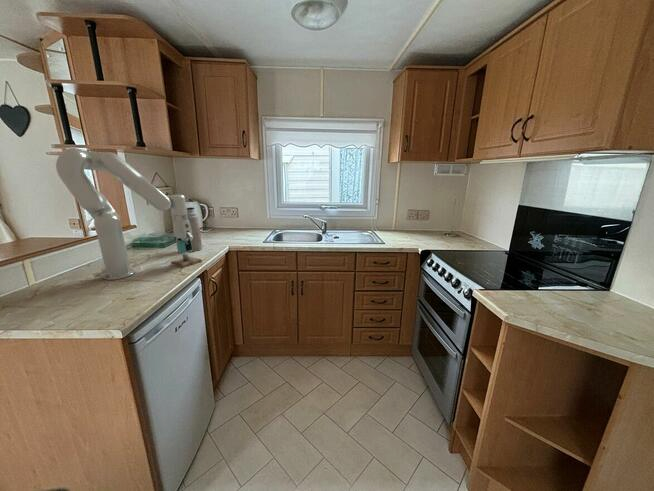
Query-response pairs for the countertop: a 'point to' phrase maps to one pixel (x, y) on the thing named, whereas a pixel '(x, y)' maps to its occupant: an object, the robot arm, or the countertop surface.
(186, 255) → the post
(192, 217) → the thermos bottle
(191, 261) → the post board
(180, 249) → the teal block
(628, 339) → the countertop surface
